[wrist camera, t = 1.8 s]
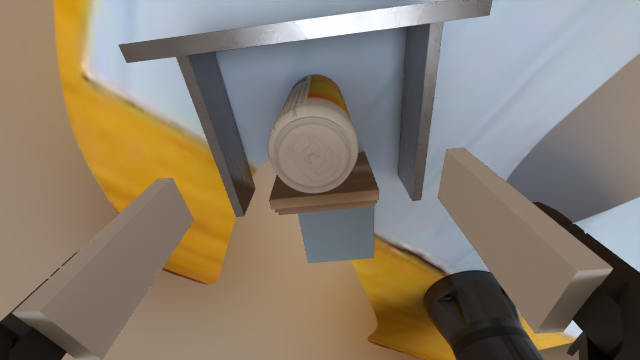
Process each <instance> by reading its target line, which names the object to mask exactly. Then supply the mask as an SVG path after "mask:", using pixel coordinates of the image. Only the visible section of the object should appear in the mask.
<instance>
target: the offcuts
mask: <svg viewBox="0 0 640 360" xmlns="http://www.w3.org/2000/svg"><path fill="white" fill-rule="evenodd" d="M377 200H379V189H378V186H377V183H376V181H375V178H374V175H373V173H372V170H371V168H370V165H369V162H368V160H367V157H366V155H365V152H358V157H357V160H356V163H355V165H354V167H353V169H352V170H351V172H350V174H349V175H348V177H347V178H346V179H345V180H344V181H343V182H342V183H341V184H340V185H339V186H337V187H335V188H333V189H331V190H329V191H326V192H321V193H305V192H301V191H298V190H295V189H293V188H291V187H290V186H288V185H287V184H285V183H284V182H283V181H282V180H281V179H280V178H279V176H278V175H277V176H276V180H275V183H274V186H273V189H272V192H271V196H270V199H269V201H270V205H271V208H272V209H275V212H278V213H279V215H284V214H296V213H307V212H318V211H329V210H340V209H351V208H362V207H374V206H375V203H377Z"/></svg>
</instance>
